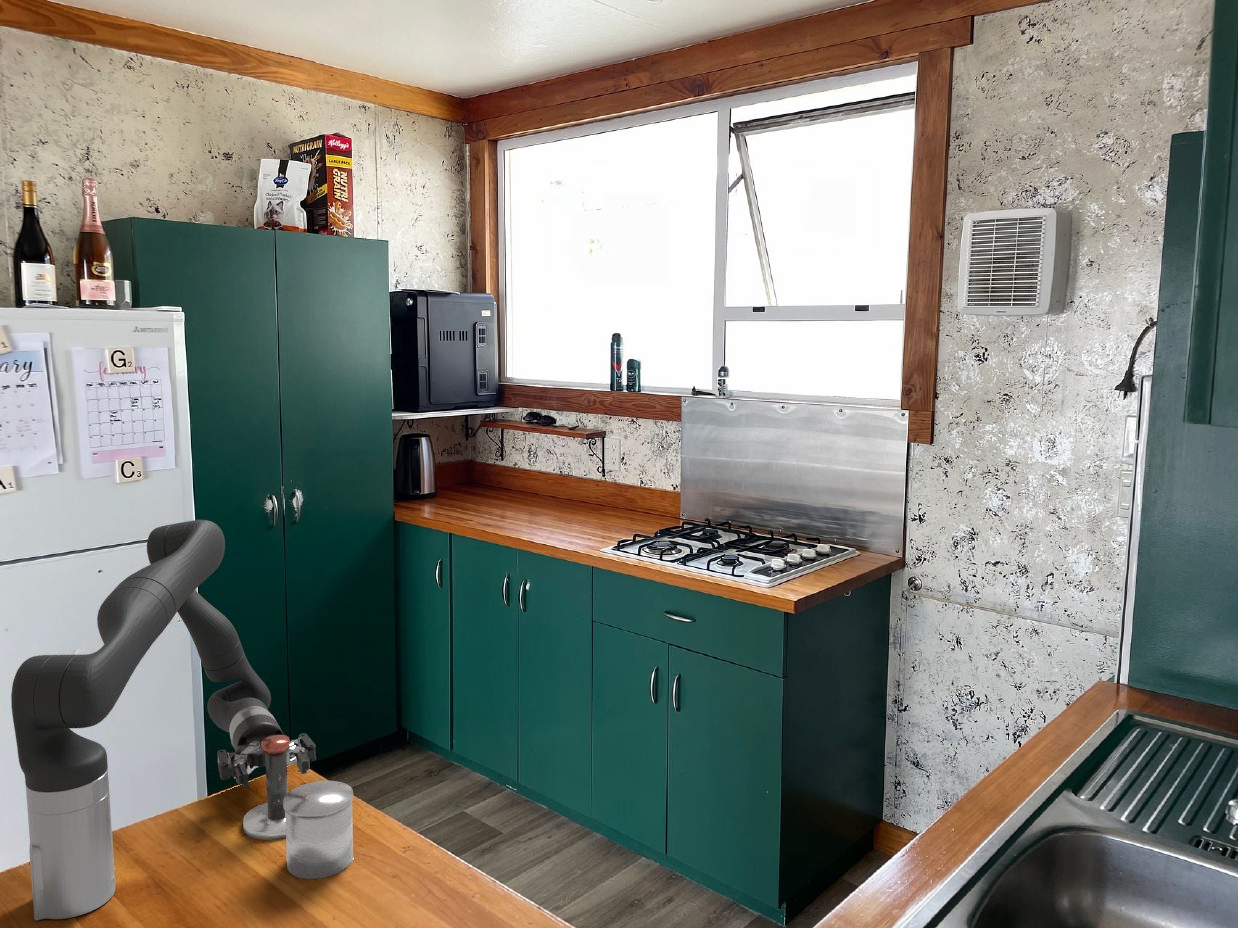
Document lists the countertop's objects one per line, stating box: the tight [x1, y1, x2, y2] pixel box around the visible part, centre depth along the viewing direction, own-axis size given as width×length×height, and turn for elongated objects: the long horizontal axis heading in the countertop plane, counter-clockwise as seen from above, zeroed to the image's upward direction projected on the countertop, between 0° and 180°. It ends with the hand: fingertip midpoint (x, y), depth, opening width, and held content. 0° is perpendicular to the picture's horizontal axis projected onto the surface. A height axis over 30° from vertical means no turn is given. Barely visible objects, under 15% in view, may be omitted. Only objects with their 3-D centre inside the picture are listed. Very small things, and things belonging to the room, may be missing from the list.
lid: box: [242, 734, 290, 841], centre depth 142 cm, size 10×10×13 cm
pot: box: [283, 780, 354, 880], centre depth 132 cm, size 9×9×10 cm
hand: (275, 774), depth 142 cm, fingers open, 8 cm apart
